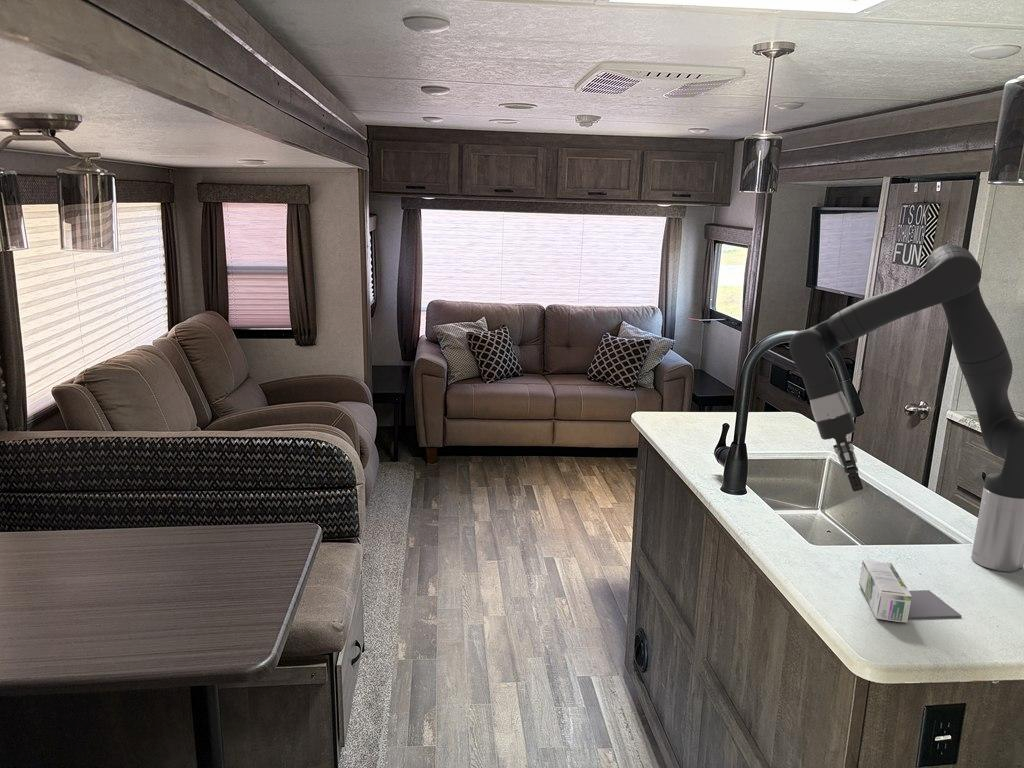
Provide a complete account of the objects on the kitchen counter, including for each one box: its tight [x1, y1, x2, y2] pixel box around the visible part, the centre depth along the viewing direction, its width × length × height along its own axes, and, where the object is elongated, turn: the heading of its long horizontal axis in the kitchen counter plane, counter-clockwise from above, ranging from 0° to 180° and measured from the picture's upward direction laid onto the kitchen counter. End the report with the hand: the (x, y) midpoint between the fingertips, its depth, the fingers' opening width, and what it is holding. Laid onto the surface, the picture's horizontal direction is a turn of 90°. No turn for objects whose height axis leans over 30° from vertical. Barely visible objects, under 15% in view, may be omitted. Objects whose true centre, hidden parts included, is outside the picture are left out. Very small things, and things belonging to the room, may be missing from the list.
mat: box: [908, 589, 962, 620], centre depth 152 cm, size 14×10×1 cm
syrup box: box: [858, 560, 912, 623], centre depth 151 cm, size 6×6×14 cm
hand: (858, 490), depth 167 cm, fingers closed
